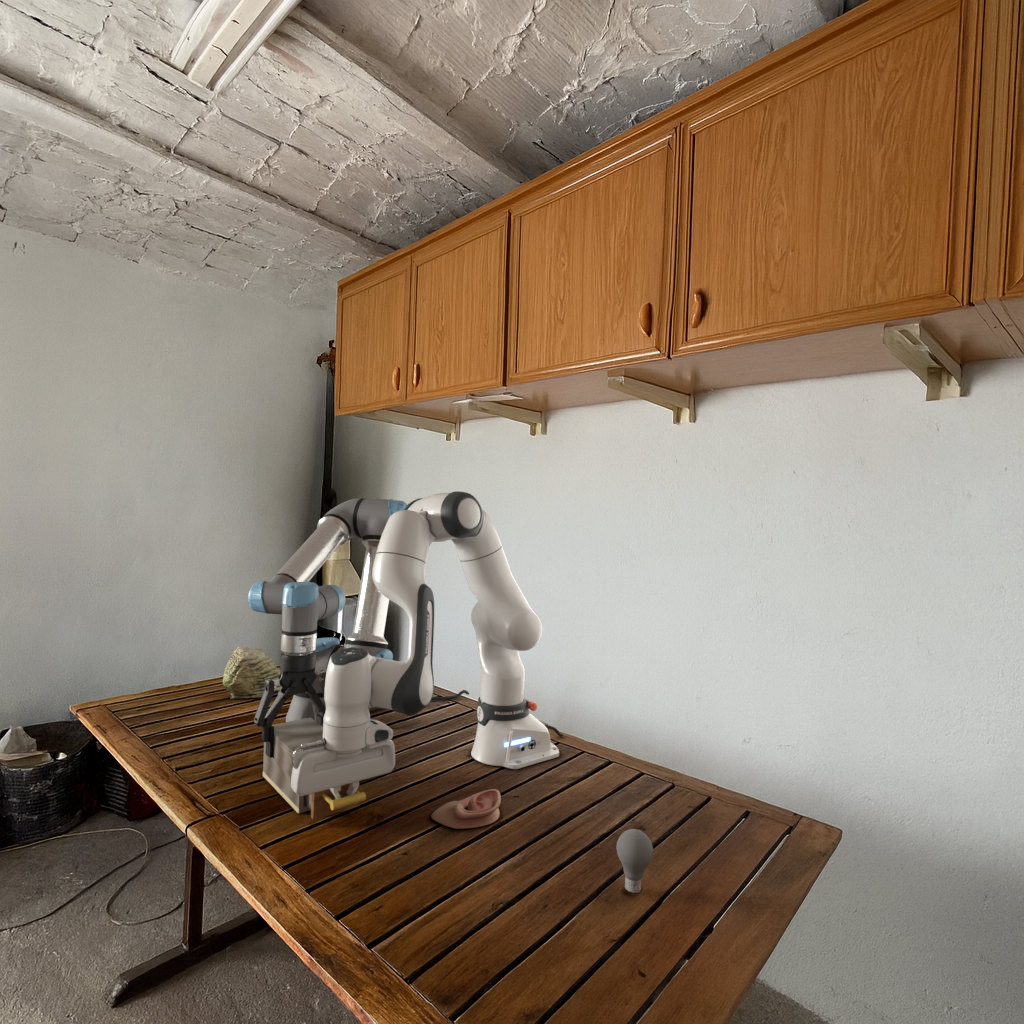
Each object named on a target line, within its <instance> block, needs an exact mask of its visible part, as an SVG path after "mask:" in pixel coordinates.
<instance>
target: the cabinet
mask: <svg viewBox="0 0 1024 1024" xmlns="http://www.w3.org/2000/svg"><path fill="white" fill-rule="evenodd" d="M272 726H273V727H274V751H273V757H272V758H269V757H268V756H267V755H266V742H264V741H263V758H262V763H263V764H262V777H263V778H264V779H265V780H266V781H267V782H268V783H269V784H270V785H271V786H272V787H273V789H274V790H275V791H276V792H277V793H278V794H279V795H280V796H281V797H282V798H283V799H284V800H285V802H287V804H288V805H289V806H290V807H291V808H292V809H293V811H295V812H296V813H297V814H298V815H299V814H302V813H303V814H304V813H306V812H309V811H311V809H310V808H309V807H308V806H307V805H306V804H305V803H304V796H299V795H297V794H296V793H295V792H294V791H293V790H292V788H291V776H292V770H293V764H292V758H293V752H294V751H295V750H296V749H297V748H298V747H300V745H301V744H303V743H310V742H313V741H316V740H321V739H323V726H321V725H320V724H319V723H317V722H316V721H315V720H313V719H312V718H305V719H300V720H294V721H289V722H286V721H285V722H279V723H275V724H274V723H273V724H272ZM299 750H300V749H299Z"/></svg>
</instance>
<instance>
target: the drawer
mask: <svg viewBox="0 0 1024 1024" xmlns="http://www.w3.org/2000/svg"><path fill="white" fill-rule="evenodd" d="M349 785H350V784H346V785H342V786H341V790H340V791H338V793H339V795H340V794H344V793H346V792H347V790H348V788H349ZM366 800H367V795H366V792H365V791H361V792H360V786H359V787H358V789H357V790H356V792H355V794H353V795H350V796H346V797H343V798H339V799H336V800H335V796H334V795H333V793H332V792H331V790H330V789H327V790H323V791H320V792H316V793H312V794H308V795H305V796H304V803H305V804H306V805H307V806H308V807H309V808H310V809H311V810H310V818H311V819H312V820H313V821H314V820H318V819H321V818H325V817H327V816H331V815H334V814H338V813H341V812H344V811H348V810H351V809H354V808H357V807H359V803H363V802H365V801H366Z"/></svg>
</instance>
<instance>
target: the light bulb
mask: <svg viewBox="0 0 1024 1024" xmlns="http://www.w3.org/2000/svg"><path fill="white" fill-rule="evenodd" d="M615 849H616V854H617V857H618V859H619V861H620V863H621V865H622V867H623V873H624V874H623V875H624V876H625V878H624V888H625V890H627V891H628V892H630V893H634V894H635V893H639V892H640V891H641V889H642V887H641V886H642V879H643V877H644V875H645V871H646V868H647V867H648V866H649V864H650V863H651V861H652V859H653V855H654V847H653V843H652V841H651V838H649V836H648V835H647V834H646V833H645V832H643V831H642V830H641V829H636V828H629V829H627V830H625V831H623V832H622V833H621V834H620V835H619V837H618V839H617V841H616V847H615Z"/></svg>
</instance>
